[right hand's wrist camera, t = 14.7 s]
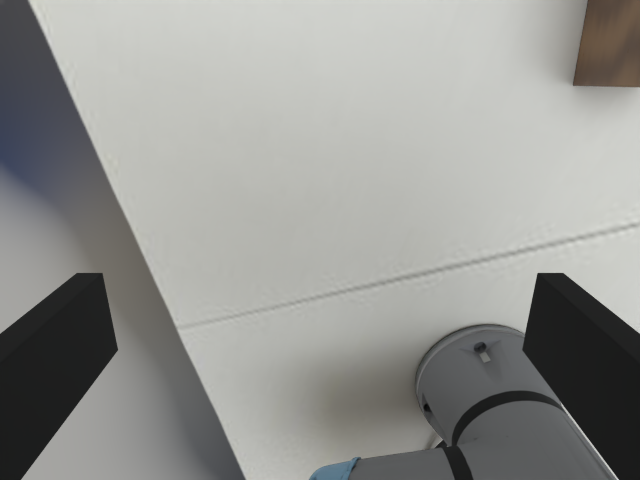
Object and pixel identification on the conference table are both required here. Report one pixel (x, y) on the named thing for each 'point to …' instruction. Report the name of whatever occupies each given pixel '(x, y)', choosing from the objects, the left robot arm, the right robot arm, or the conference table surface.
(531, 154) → the conference table surface
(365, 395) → the conference table surface
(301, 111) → the conference table surface
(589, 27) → the box
